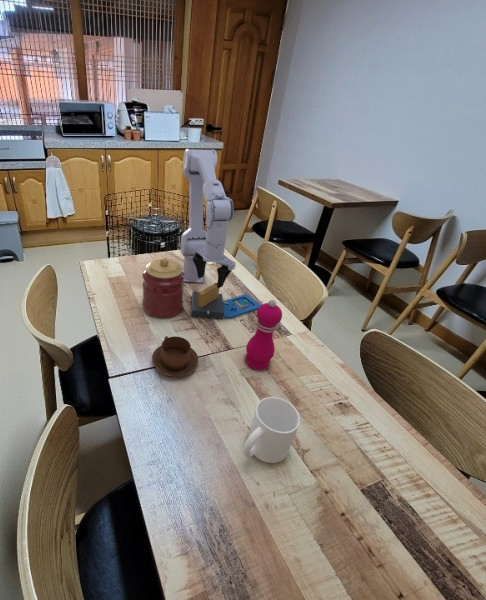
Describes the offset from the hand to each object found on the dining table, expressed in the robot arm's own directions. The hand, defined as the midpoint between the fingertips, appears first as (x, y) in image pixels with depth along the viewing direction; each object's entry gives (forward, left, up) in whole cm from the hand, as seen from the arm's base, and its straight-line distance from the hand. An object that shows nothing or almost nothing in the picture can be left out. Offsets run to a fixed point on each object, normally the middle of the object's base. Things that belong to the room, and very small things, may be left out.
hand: (210, 281), depth 105 cm
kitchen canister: (+1, -15, -10) cm, 18 cm away
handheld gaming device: (-2, +10, -10) cm, 14 cm away
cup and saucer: (+26, -9, -10) cm, 30 cm away
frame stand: (0, 0, -10) cm, 10 cm away
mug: (+49, +10, -10) cm, 52 cm away
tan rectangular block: (0, 0, -7) cm, 7 cm away
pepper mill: (+23, +13, -10) cm, 29 cm away
